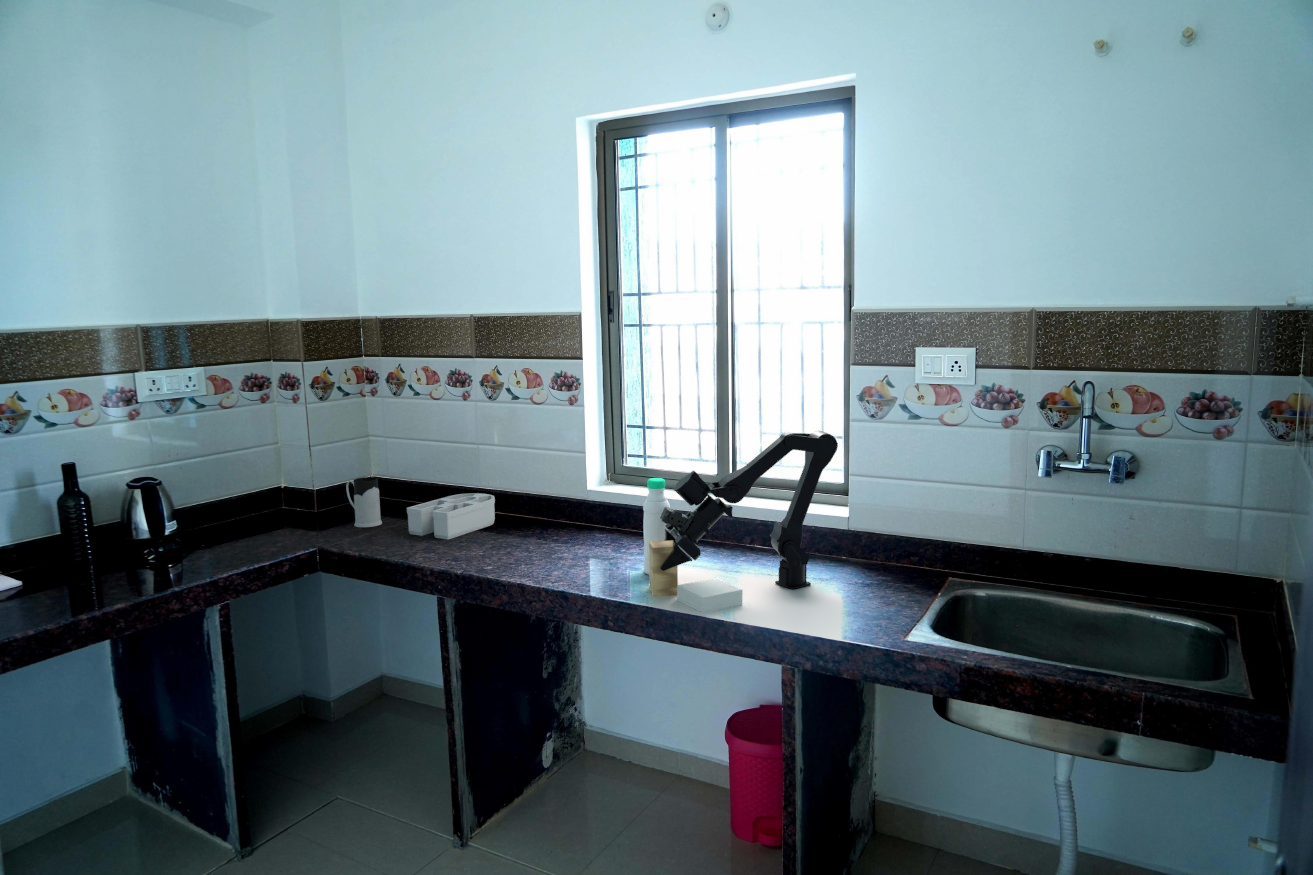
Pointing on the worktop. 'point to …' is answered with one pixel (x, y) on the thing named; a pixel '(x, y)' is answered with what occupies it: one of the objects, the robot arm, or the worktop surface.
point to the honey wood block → (659, 579)
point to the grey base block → (709, 595)
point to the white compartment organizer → (452, 515)
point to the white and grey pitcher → (366, 502)
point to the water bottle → (653, 516)
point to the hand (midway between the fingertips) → (658, 564)
